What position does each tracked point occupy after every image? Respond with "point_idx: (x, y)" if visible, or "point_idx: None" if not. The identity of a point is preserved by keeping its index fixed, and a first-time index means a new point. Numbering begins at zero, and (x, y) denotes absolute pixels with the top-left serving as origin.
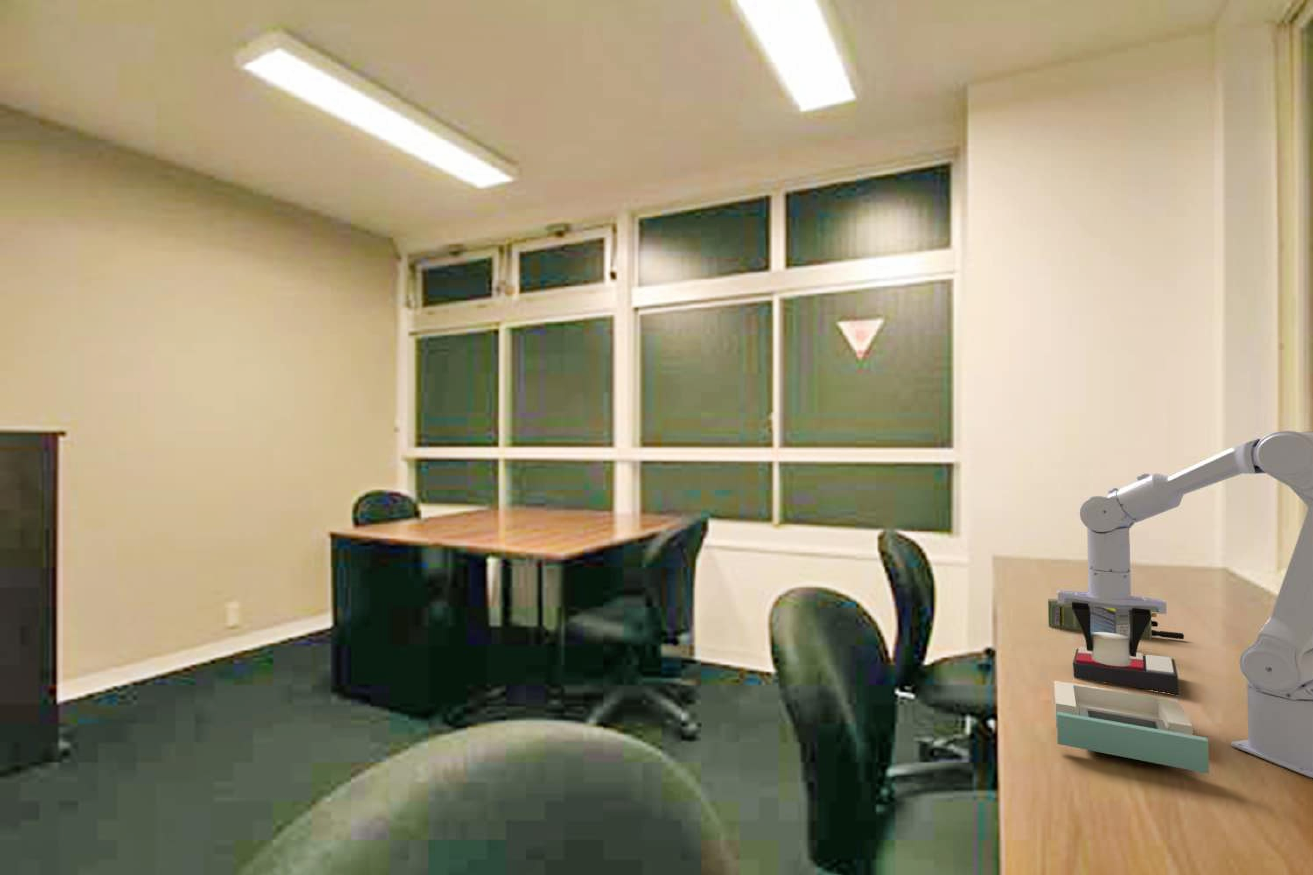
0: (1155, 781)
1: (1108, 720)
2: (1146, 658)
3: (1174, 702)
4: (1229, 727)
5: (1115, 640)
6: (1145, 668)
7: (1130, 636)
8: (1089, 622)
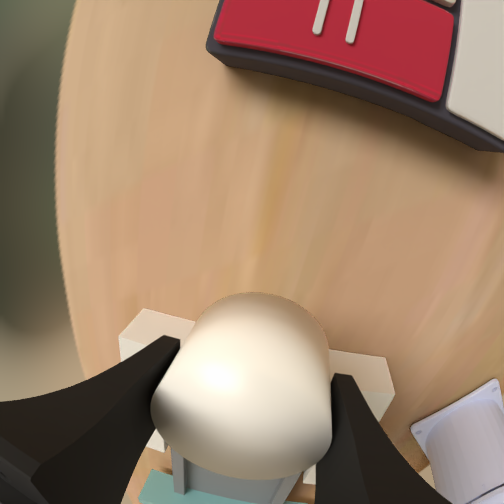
0: None
1: None
2: None
3: (374, 412)
4: (472, 344)
5: (244, 474)
6: (447, 73)
7: (337, 448)
8: (118, 496)
